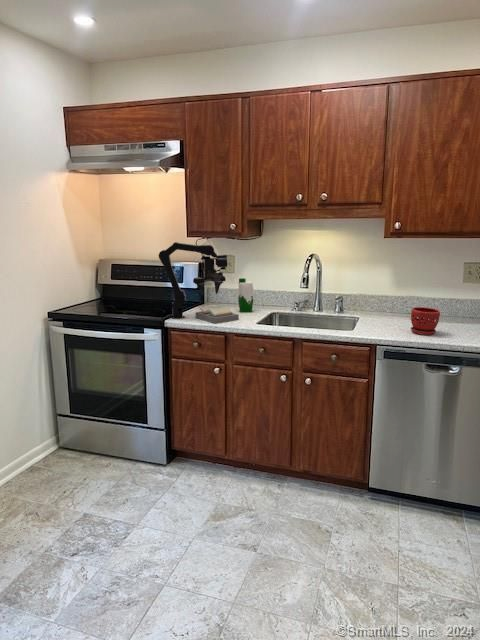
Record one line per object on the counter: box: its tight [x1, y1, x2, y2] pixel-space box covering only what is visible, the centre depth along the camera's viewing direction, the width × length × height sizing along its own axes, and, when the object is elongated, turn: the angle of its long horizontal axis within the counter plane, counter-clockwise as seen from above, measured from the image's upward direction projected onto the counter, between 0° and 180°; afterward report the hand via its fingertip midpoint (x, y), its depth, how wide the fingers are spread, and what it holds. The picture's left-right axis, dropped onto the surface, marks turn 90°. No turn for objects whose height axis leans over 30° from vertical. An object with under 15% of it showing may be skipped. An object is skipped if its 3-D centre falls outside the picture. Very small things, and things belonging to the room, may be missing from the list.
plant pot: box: [410, 306, 441, 336], centre depth 229 cm, size 13×13×12 cm
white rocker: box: [198, 304, 221, 313], centre depth 268 cm, size 6×12×2 cm, turn 127°
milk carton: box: [237, 277, 254, 313], centre depth 283 cm, size 9×9×20 cm
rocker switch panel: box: [195, 311, 240, 325], centre depth 264 cm, size 20×16×3 cm
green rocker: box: [209, 306, 234, 317], centre depth 260 cm, size 6×12×2 cm, turn 127°
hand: (209, 294), depth 267 cm, fingers open, 9 cm apart
